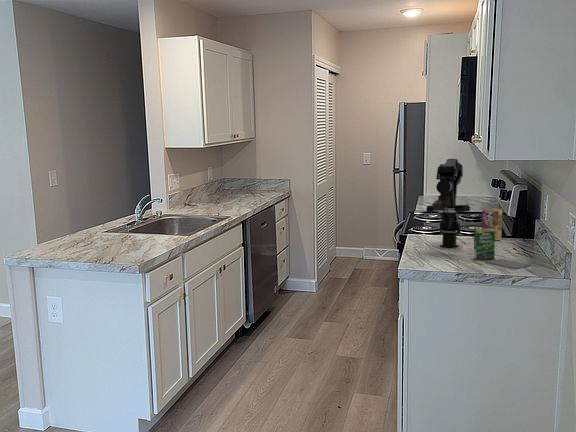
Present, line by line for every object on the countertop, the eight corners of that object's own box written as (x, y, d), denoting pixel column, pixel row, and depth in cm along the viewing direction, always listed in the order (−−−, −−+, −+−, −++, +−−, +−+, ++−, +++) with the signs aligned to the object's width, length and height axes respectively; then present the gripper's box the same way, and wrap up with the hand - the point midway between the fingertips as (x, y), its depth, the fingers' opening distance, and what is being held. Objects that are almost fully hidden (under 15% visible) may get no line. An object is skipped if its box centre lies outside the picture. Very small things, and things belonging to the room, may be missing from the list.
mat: (485, 262, 220) (485, 261, 220) (501, 259, 225) (501, 258, 225) (515, 269, 208) (515, 268, 208) (531, 265, 213) (531, 264, 213)
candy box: (501, 240, 268) (503, 209, 266) (497, 241, 265) (498, 210, 263) (485, 237, 275) (486, 208, 273) (480, 238, 272) (481, 209, 270)
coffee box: (475, 259, 226) (476, 229, 224) (473, 258, 228) (473, 228, 227) (494, 259, 225) (495, 228, 224) (492, 258, 228) (493, 227, 227)
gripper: (418, 194, 239) (420, 229, 240) (455, 193, 224) (457, 230, 225) (432, 192, 246) (434, 226, 247) (469, 191, 232) (471, 227, 233)
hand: (448, 227), depth 238 cm, fingers closed
